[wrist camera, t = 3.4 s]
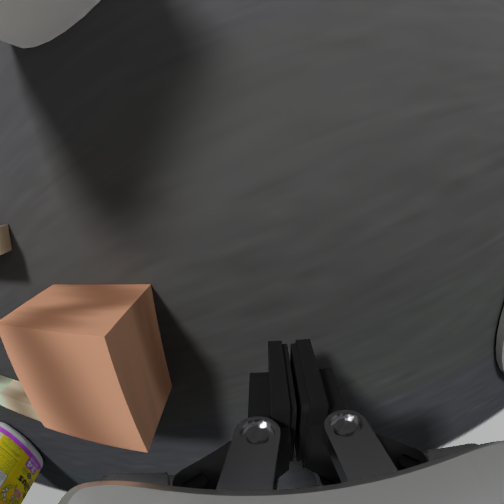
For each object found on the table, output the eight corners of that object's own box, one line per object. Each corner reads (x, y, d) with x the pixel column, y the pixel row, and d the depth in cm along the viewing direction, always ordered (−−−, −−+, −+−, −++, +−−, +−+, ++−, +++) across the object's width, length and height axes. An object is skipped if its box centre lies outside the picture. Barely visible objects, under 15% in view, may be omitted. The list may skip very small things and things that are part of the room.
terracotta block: (151, 283, 13) (104, 336, 8) (172, 385, 15) (147, 452, 10) (54, 283, 14) (-5, 323, 9) (83, 374, 15) (44, 426, 10)
